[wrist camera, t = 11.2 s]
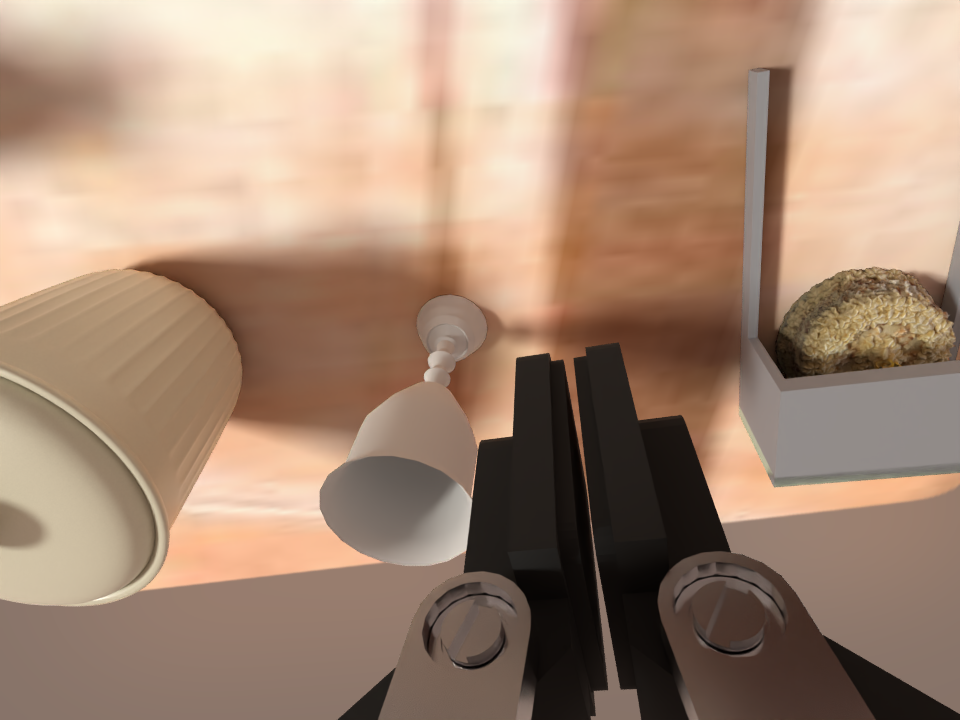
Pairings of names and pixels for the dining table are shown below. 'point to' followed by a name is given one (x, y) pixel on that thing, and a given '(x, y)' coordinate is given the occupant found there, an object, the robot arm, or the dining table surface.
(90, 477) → the canister
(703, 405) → the dining table surface
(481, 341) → the chalice
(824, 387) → the low barrier
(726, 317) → the dining table surface
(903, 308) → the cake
